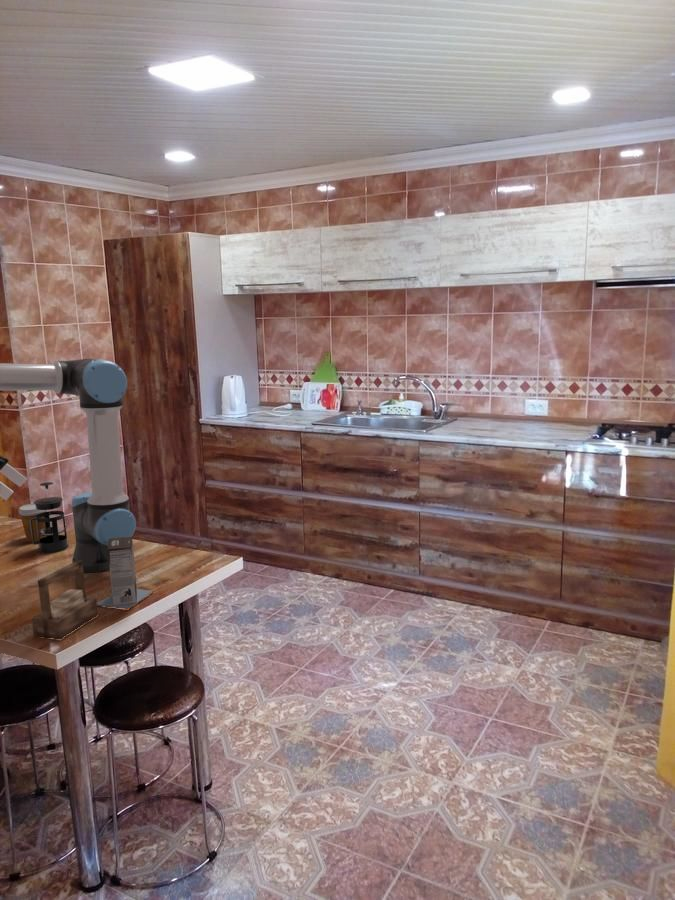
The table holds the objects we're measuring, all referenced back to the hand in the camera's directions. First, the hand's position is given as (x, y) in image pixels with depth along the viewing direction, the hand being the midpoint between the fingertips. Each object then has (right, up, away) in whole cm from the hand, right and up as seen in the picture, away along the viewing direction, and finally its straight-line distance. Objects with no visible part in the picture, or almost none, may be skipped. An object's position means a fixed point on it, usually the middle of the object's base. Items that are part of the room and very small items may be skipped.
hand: (17, 489), depth 172 cm
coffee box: (+24, -31, +13) cm, 41 cm away
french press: (-15, -24, +56) cm, 63 cm away
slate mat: (+24, -31, +13) cm, 41 cm away
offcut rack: (+14, -34, -2) cm, 37 cm away
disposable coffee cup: (-25, -22, +67) cm, 75 cm away
